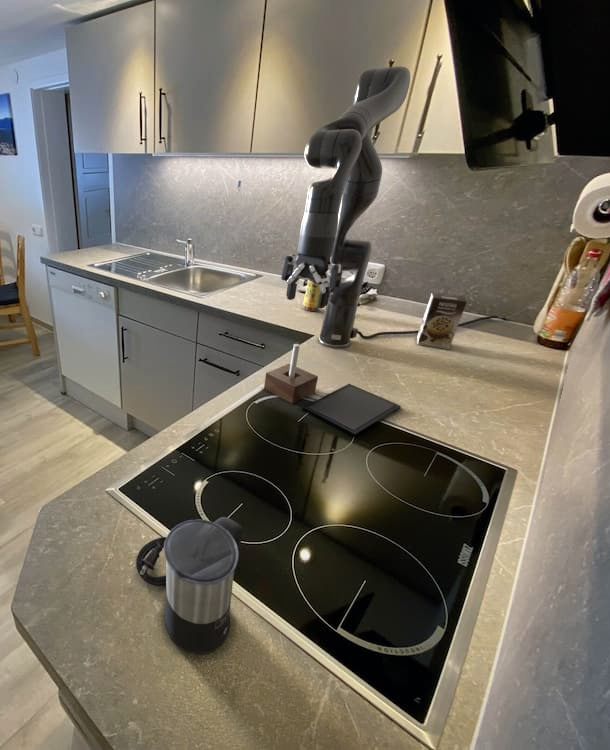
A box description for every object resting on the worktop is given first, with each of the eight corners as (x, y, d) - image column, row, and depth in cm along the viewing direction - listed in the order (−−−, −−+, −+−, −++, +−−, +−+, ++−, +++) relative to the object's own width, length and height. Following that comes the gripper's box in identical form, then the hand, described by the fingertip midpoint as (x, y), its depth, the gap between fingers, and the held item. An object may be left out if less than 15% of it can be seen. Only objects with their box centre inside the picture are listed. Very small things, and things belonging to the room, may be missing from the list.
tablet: (348, 386, 114) (349, 383, 113) (400, 408, 103) (401, 405, 103) (302, 409, 104) (302, 406, 103) (354, 437, 93) (355, 433, 93)
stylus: (288, 389, 113) (296, 343, 106) (292, 391, 112) (300, 345, 105) (285, 390, 112) (292, 344, 106) (289, 392, 111) (297, 346, 105)
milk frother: (221, 668, 52) (231, 594, 45) (109, 623, 57) (102, 550, 50) (242, 573, 64) (252, 503, 57) (147, 543, 69) (145, 475, 62)
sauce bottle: (299, 307, 170) (307, 259, 161) (311, 305, 172) (320, 257, 163) (310, 312, 165) (319, 262, 155) (322, 310, 167) (332, 261, 157)
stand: (286, 379, 118) (288, 363, 115) (314, 392, 111) (318, 376, 108) (263, 388, 113) (265, 372, 111) (292, 403, 106) (295, 386, 104)
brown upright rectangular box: (417, 344, 137) (432, 297, 129) (416, 337, 142) (430, 291, 134) (449, 349, 133) (467, 301, 125) (448, 342, 138) (464, 295, 130)
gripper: (357, 235, 89) (341, 308, 97) (301, 228, 100) (290, 293, 107) (337, 239, 85) (322, 314, 93) (281, 230, 96) (271, 299, 103)
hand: (305, 303), depth 100 cm, fingers open, 8 cm apart
